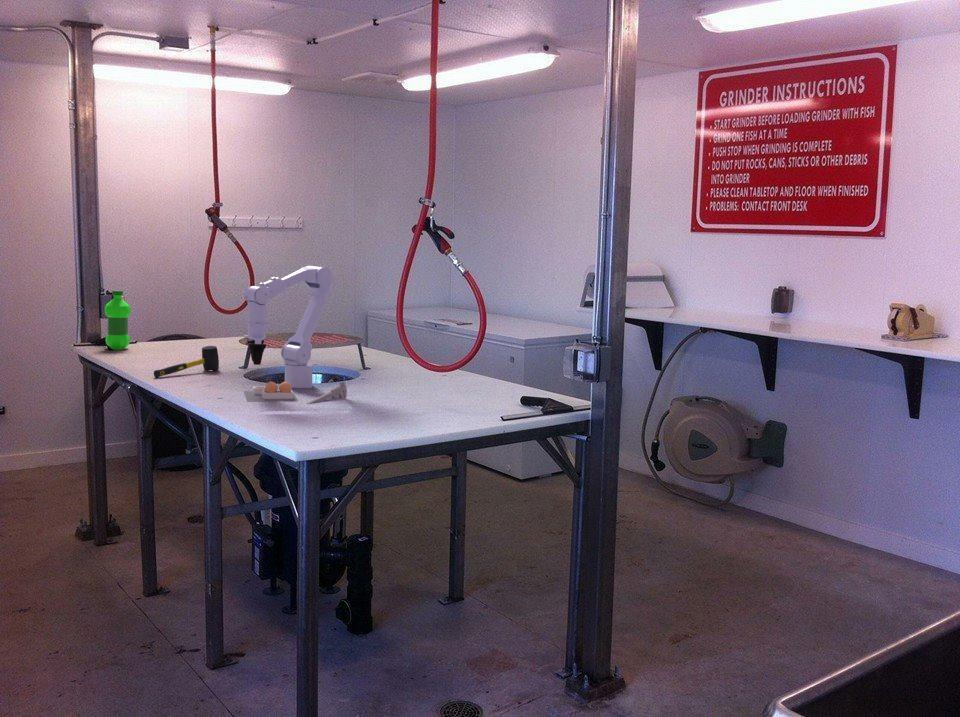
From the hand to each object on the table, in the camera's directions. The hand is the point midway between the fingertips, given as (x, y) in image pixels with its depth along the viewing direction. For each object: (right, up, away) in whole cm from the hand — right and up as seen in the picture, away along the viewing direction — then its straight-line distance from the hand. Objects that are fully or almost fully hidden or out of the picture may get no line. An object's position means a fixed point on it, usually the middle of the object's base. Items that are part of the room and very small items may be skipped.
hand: (256, 362), depth 295 cm
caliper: (+25, -14, -8) cm, 29 cm away
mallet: (-34, -5, +33) cm, 47 cm away
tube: (+2, -10, -3) cm, 11 cm away
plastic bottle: (-81, +5, +85) cm, 118 cm away
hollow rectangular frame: (+9, -11, -9) cm, 17 cm away
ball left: (+12, -8, -9) cm, 17 cm away
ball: (+7, -8, -10) cm, 15 cm away
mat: (+6, -12, -7) cm, 15 cm away
